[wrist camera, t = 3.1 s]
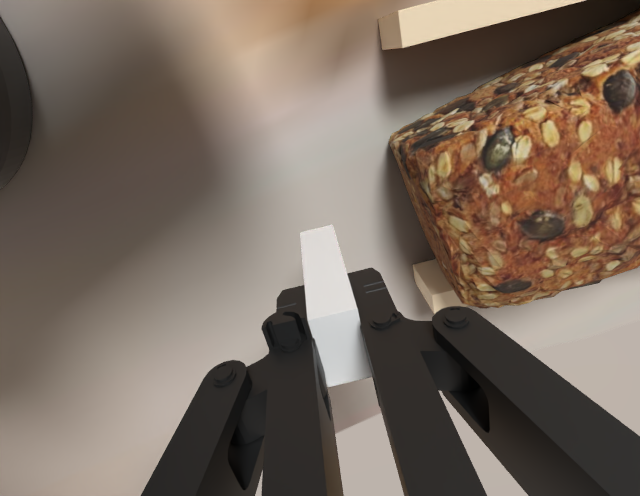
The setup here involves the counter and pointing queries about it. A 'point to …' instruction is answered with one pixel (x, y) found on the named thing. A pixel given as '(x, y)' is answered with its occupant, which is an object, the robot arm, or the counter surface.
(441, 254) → the bread
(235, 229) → the counter surface
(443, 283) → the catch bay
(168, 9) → the counter surface
